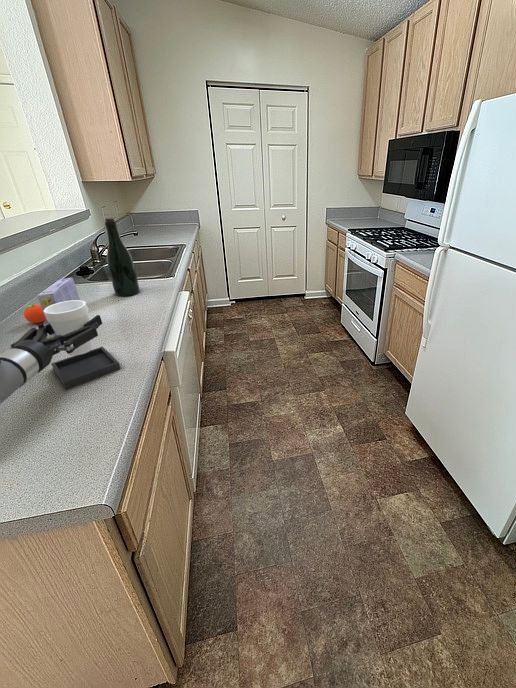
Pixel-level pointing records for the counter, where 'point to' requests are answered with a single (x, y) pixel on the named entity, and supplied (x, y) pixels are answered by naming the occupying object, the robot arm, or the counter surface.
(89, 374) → the shallow black tray
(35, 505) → the counter surface
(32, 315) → the red tomato
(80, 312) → the foam cup
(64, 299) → the cake pan box
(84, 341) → the robot arm
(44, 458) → the counter surface
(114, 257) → the beer bottle
